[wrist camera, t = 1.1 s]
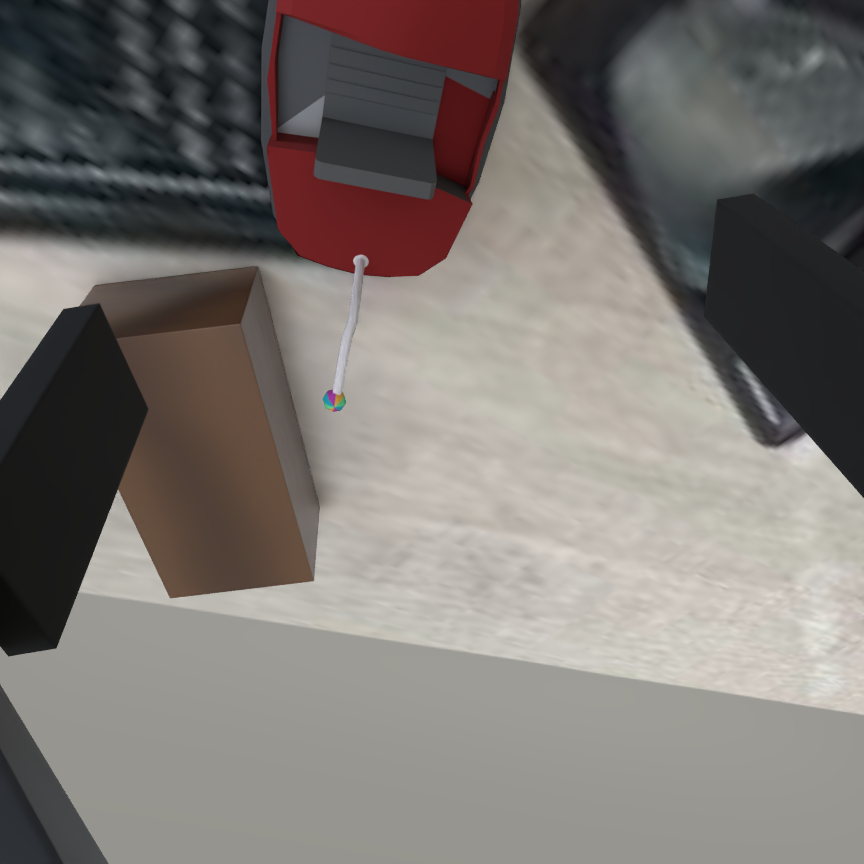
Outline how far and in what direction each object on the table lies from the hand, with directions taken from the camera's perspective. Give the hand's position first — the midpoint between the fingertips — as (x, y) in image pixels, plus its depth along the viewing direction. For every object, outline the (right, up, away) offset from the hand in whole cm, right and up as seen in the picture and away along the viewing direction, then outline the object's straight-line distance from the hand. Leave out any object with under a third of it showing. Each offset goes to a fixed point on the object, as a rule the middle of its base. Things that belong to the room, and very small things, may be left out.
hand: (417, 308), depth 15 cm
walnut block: (-11, -1, +24) cm, 26 cm away
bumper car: (-2, +12, +15) cm, 19 cm away
